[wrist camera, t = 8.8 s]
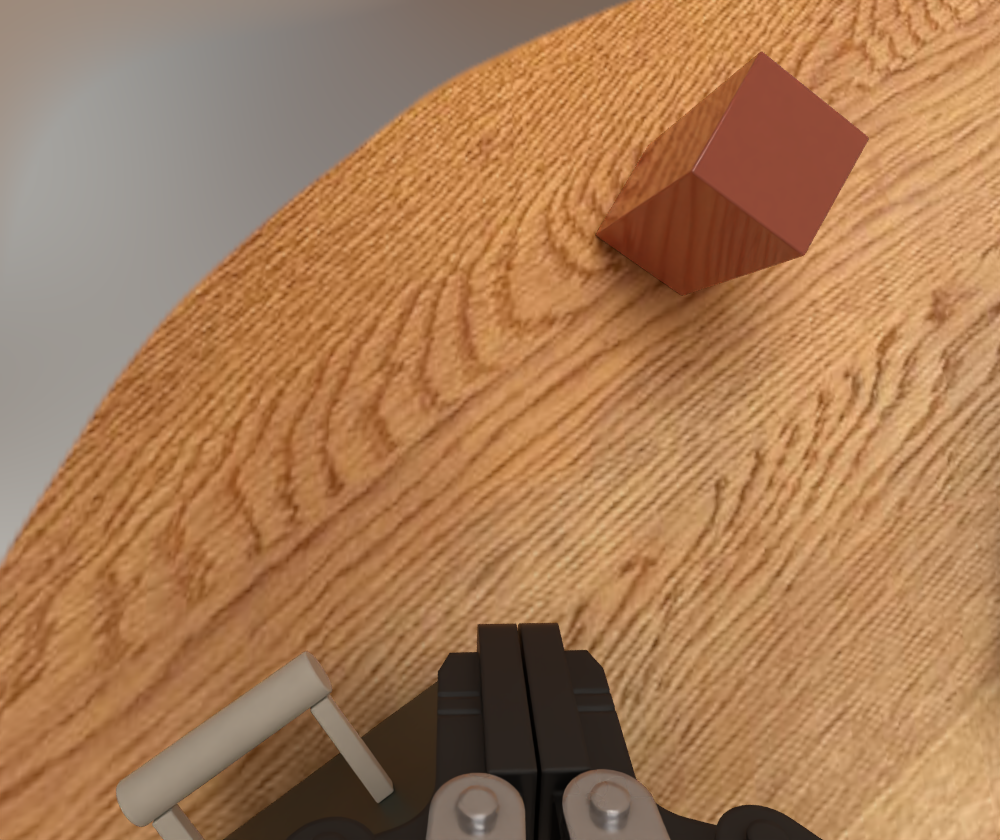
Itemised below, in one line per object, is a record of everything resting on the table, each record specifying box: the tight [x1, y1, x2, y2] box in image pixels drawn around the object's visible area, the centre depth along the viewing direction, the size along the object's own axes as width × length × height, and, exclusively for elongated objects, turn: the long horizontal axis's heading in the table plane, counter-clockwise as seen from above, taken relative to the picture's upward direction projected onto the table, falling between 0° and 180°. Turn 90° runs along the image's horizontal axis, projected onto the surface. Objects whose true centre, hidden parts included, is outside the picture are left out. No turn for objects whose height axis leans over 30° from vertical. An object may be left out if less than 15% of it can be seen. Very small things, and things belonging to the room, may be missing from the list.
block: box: [596, 52, 869, 296], centre depth 26 cm, size 4×4×8 cm
